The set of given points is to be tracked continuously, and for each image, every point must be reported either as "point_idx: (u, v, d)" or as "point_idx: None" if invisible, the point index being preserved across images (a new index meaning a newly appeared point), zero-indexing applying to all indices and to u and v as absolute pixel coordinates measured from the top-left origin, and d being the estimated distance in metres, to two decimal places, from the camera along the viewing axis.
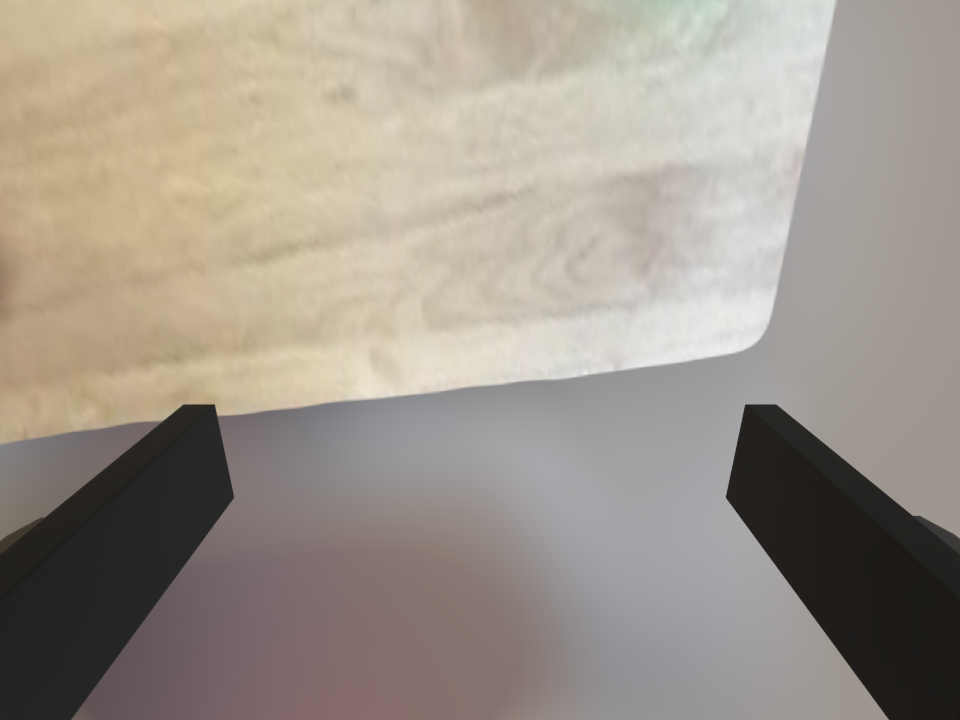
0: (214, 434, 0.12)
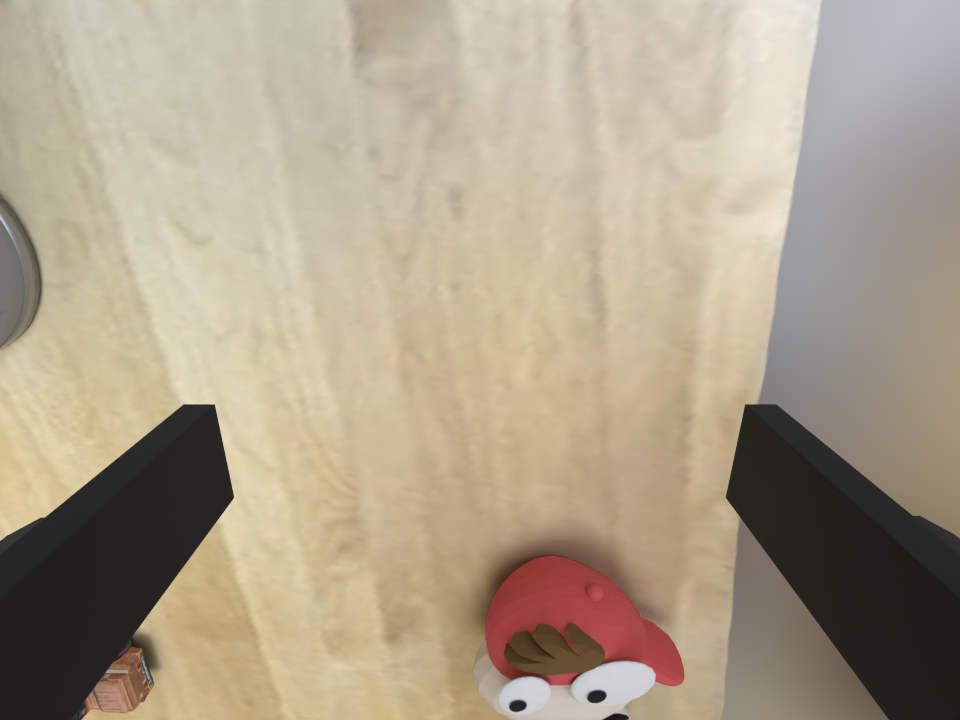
0: (215, 434, 0.12)
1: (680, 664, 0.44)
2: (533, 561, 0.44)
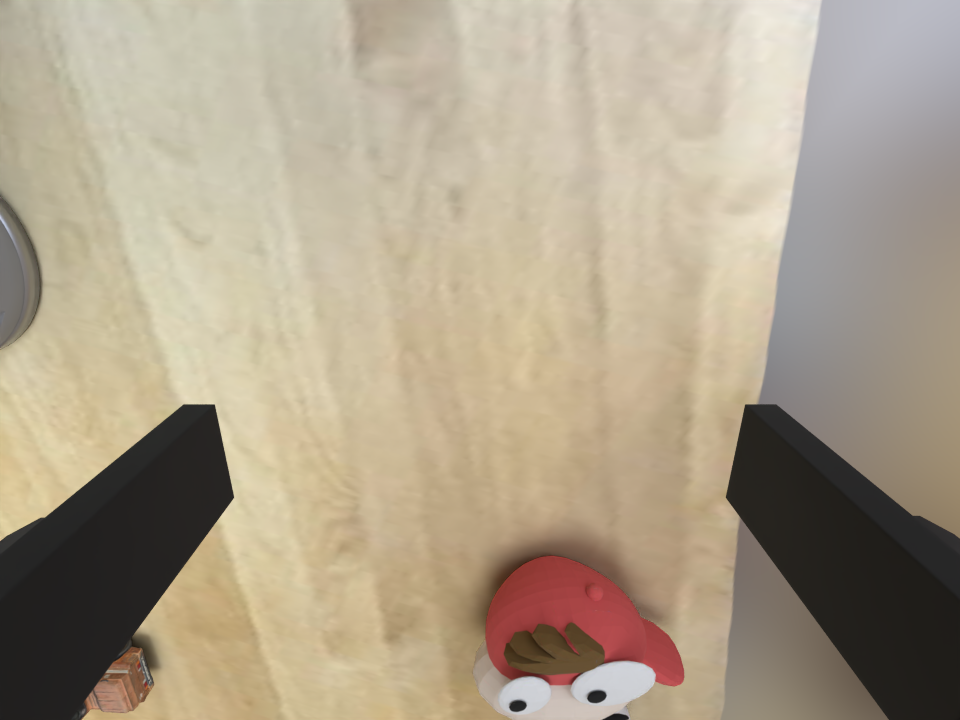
0: (215, 434, 0.12)
1: (680, 664, 0.44)
2: (533, 561, 0.44)
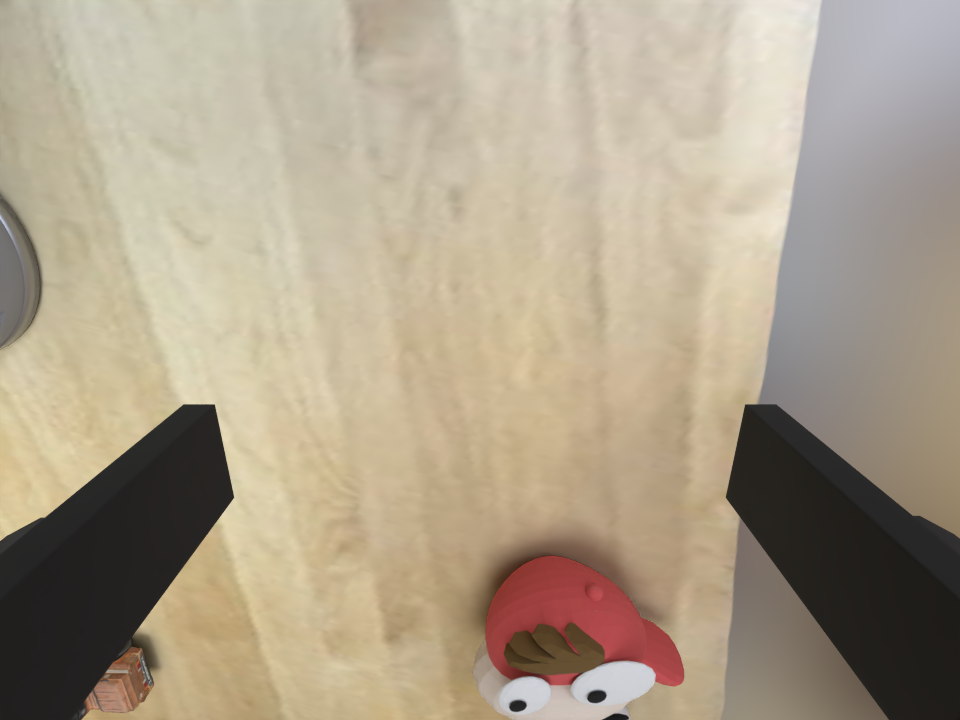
0: (215, 434, 0.12)
1: (680, 664, 0.44)
2: (533, 561, 0.44)
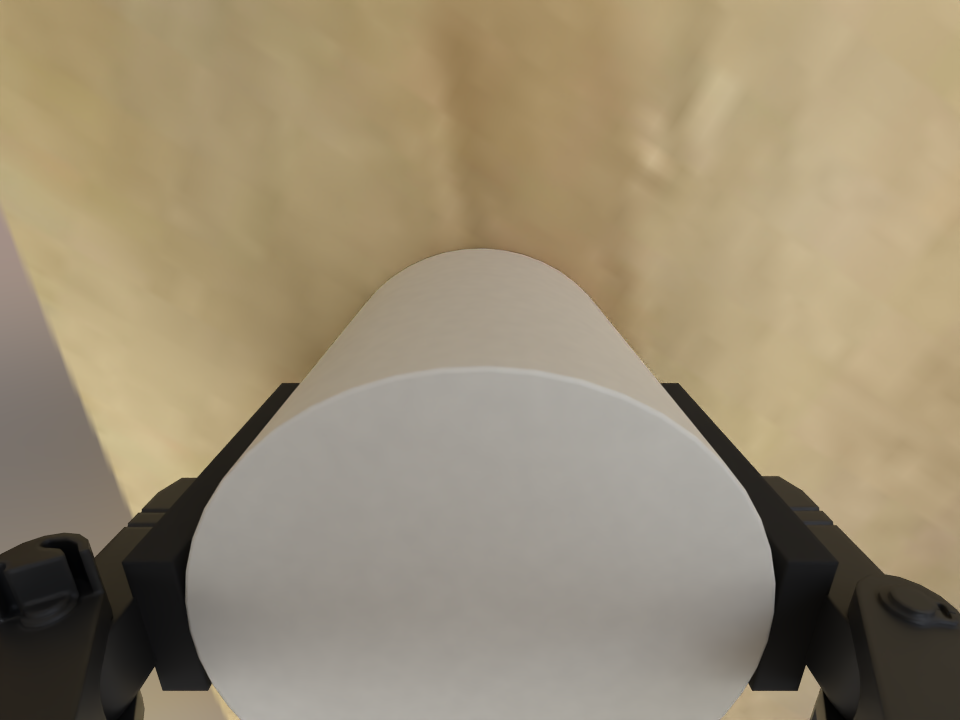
0: None
1: None
2: None
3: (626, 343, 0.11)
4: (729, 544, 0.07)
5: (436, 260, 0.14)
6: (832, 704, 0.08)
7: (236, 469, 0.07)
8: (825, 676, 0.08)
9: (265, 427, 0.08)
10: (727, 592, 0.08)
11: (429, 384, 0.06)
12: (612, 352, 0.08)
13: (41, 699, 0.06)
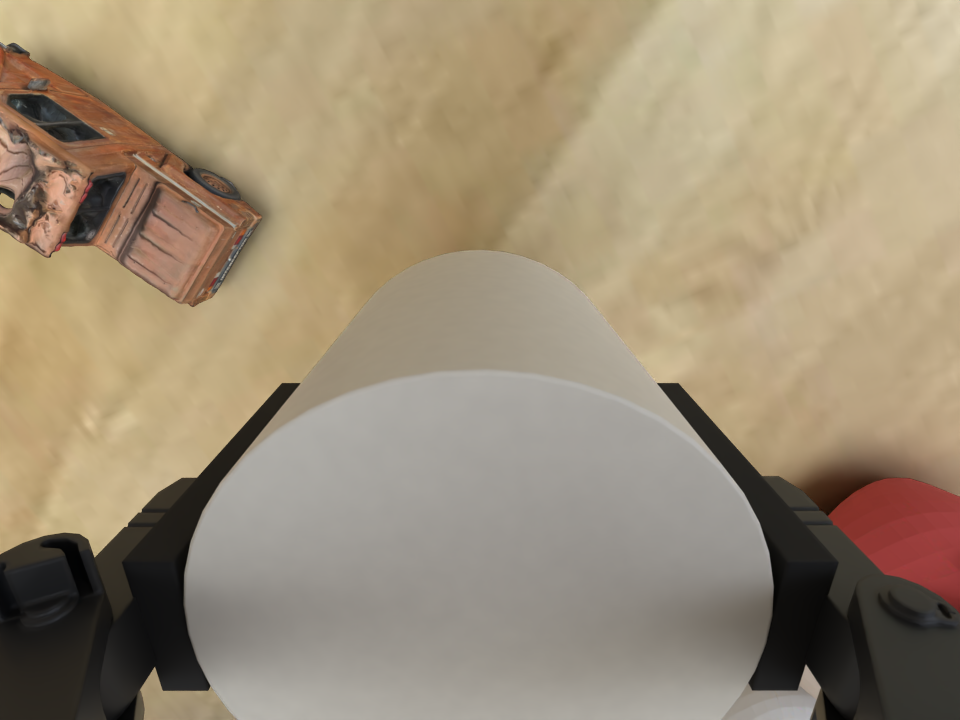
0: None
1: None
2: (918, 481, 0.29)
3: (625, 345, 0.11)
4: (727, 547, 0.07)
5: (435, 262, 0.14)
6: (832, 703, 0.08)
7: (234, 472, 0.07)
8: (825, 676, 0.08)
9: (264, 430, 0.08)
10: (725, 595, 0.08)
11: (426, 387, 0.06)
12: (611, 355, 0.08)
13: (42, 699, 0.06)
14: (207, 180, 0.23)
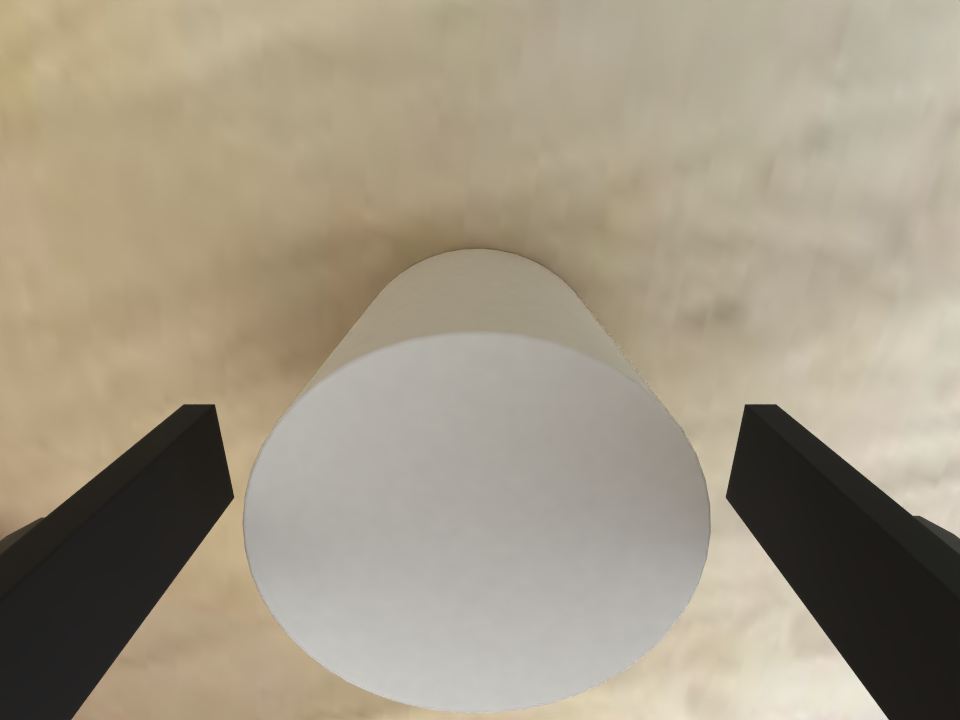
0: (214, 434, 0.12)
1: None
2: None
3: (600, 326, 0.13)
4: (672, 474, 0.09)
5: (439, 258, 0.16)
6: None
7: (288, 413, 0.09)
8: None
9: (307, 385, 0.10)
10: (672, 514, 0.10)
11: (438, 344, 0.08)
12: (583, 328, 0.10)
13: None
14: None
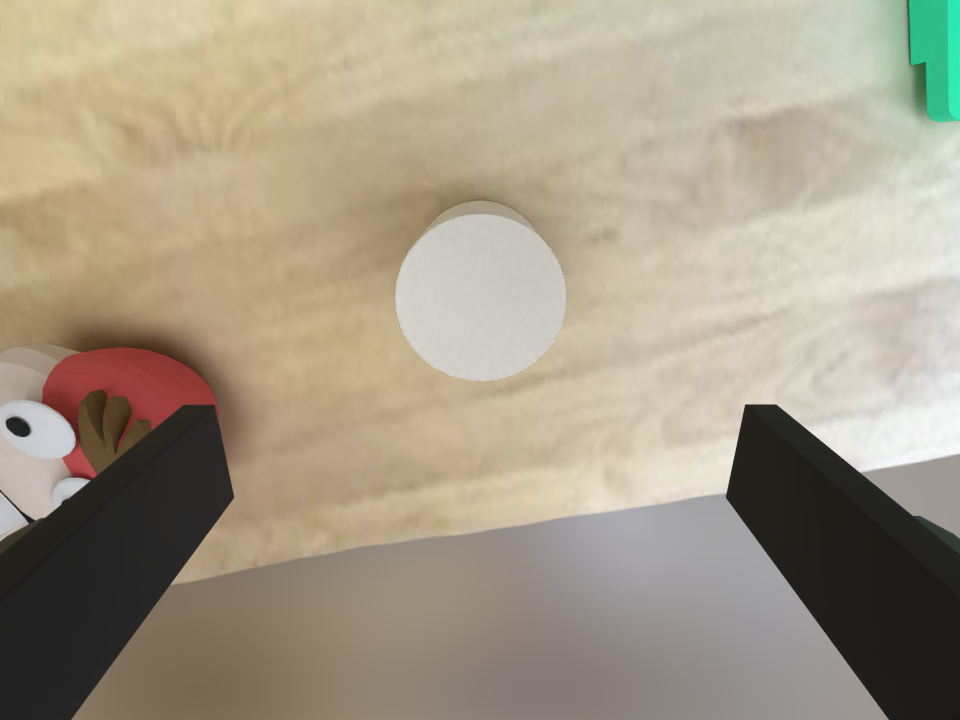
0: (214, 434, 0.12)
1: None
2: (203, 381, 0.37)
3: None
4: (550, 268, 0.26)
5: (461, 204, 0.33)
6: None
7: (415, 243, 0.26)
8: None
9: None
10: (551, 285, 0.26)
11: (467, 218, 0.25)
12: (521, 221, 0.27)
13: None
14: None
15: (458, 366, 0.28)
